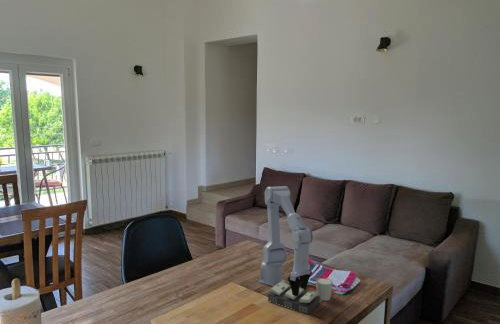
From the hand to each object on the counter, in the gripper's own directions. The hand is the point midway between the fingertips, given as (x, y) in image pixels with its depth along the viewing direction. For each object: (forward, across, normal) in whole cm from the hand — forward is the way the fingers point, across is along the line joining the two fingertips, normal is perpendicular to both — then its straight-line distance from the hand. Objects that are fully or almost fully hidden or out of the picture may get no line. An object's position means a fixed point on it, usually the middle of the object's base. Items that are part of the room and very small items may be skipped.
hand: (299, 291), depth 147 cm
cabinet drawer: (+1, 0, -4) cm, 5 cm away
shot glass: (+5, +12, -6) cm, 14 cm away
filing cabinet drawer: (+1, 0, +2) cm, 2 cm away
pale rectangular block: (+1, 0, +9) cm, 9 cm away
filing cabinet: (+5, 0, +2) cm, 5 cm away
